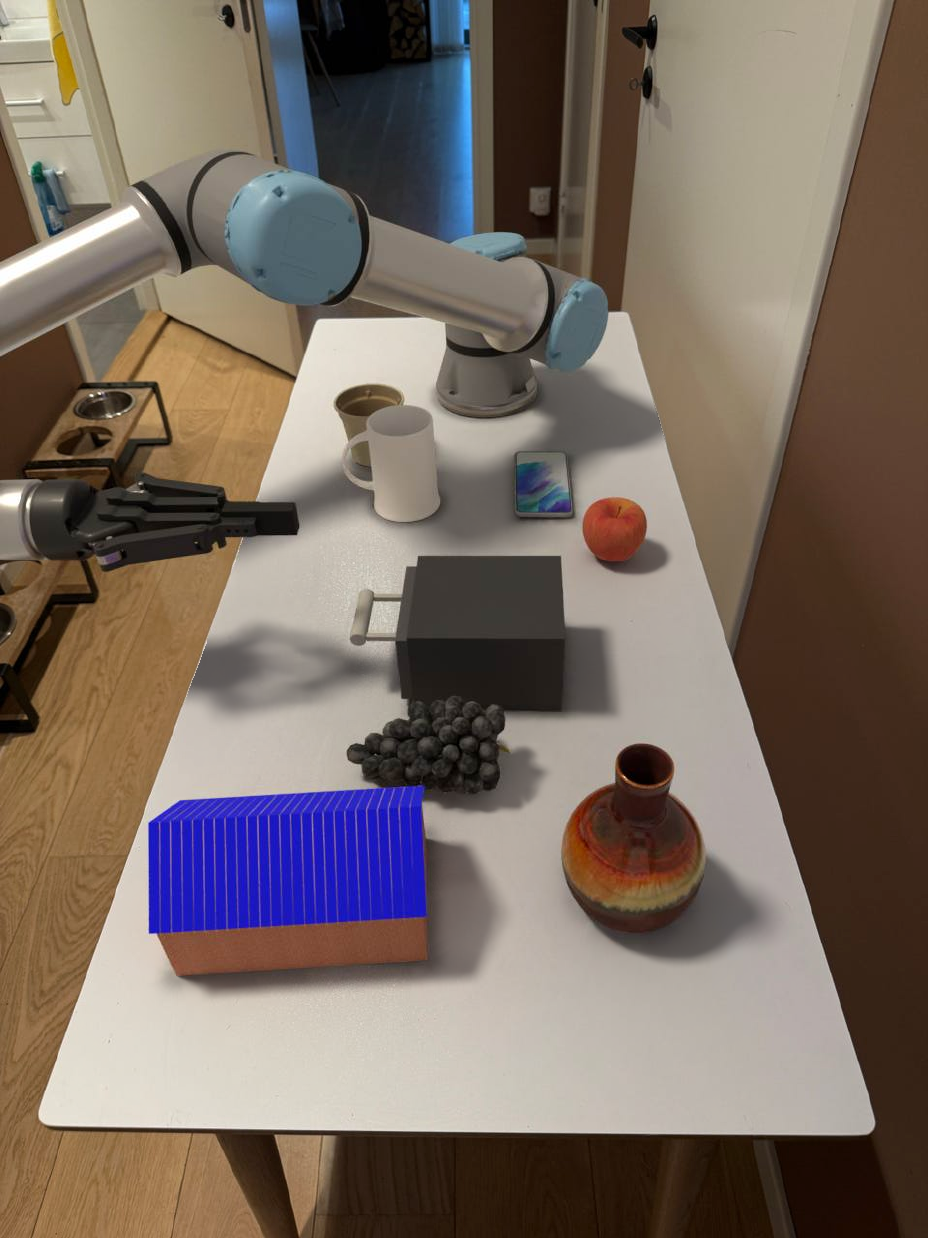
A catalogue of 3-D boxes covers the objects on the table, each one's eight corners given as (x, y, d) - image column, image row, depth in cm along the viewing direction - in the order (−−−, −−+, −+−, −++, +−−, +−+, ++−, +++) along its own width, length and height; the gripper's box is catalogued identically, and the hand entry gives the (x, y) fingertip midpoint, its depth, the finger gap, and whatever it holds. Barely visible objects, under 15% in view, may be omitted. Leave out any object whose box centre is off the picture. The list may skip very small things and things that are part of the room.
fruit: (331, 722, 78) (509, 723, 77) (350, 679, 86) (512, 679, 84) (340, 809, 81) (511, 811, 80) (357, 760, 89) (514, 761, 88)
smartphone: (567, 450, 126) (573, 513, 114) (566, 456, 126) (572, 519, 115) (514, 450, 126) (514, 512, 115) (513, 456, 127) (514, 518, 115)
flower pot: (406, 473, 125) (400, 416, 119) (336, 474, 125) (328, 417, 119) (411, 438, 132) (406, 382, 126) (345, 439, 132) (338, 383, 126)
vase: (602, 973, 70) (617, 852, 60) (536, 860, 78) (539, 736, 68) (725, 918, 73) (758, 794, 63) (649, 814, 81) (668, 689, 71)
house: (198, 848, 80) (164, 759, 72) (429, 834, 80) (420, 744, 72) (171, 980, 71) (129, 894, 63) (432, 964, 71) (422, 876, 63)
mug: (346, 525, 116) (333, 440, 108) (351, 487, 122) (340, 405, 115) (439, 521, 116) (434, 436, 108) (440, 484, 122) (435, 402, 114)
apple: (629, 533, 112) (635, 477, 107) (653, 568, 107) (660, 511, 102) (572, 543, 111) (575, 487, 106) (593, 579, 106) (597, 522, 101)
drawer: (353, 698, 92) (343, 640, 86) (367, 623, 100) (359, 566, 95) (538, 700, 90) (539, 641, 85) (537, 623, 99) (538, 566, 94)
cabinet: (413, 710, 91) (406, 637, 85) (423, 625, 101) (417, 555, 95) (561, 711, 90) (565, 638, 84) (558, 626, 100) (561, 555, 94)
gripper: (83, 513, 93) (314, 512, 92) (32, 595, 84) (289, 595, 82) (59, 448, 88) (302, 446, 87) (1, 528, 79) (274, 526, 77)
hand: (295, 518), depth 85 cm, fingers closed
